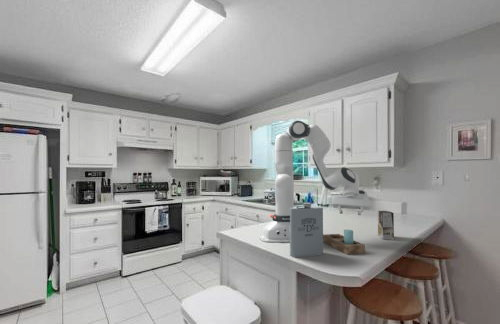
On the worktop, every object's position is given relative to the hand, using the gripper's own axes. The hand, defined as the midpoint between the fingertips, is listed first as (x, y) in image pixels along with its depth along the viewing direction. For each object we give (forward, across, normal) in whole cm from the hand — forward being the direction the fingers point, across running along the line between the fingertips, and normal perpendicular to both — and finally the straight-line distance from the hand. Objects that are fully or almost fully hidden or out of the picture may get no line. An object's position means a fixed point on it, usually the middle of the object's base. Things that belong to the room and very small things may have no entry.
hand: (349, 213), depth 130 cm
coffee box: (-7, +18, +31) cm, 37 cm away
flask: (+31, -17, -7) cm, 37 cm away
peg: (+20, 0, +4) cm, 20 cm away
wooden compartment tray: (+16, -4, +8) cm, 18 cm away
